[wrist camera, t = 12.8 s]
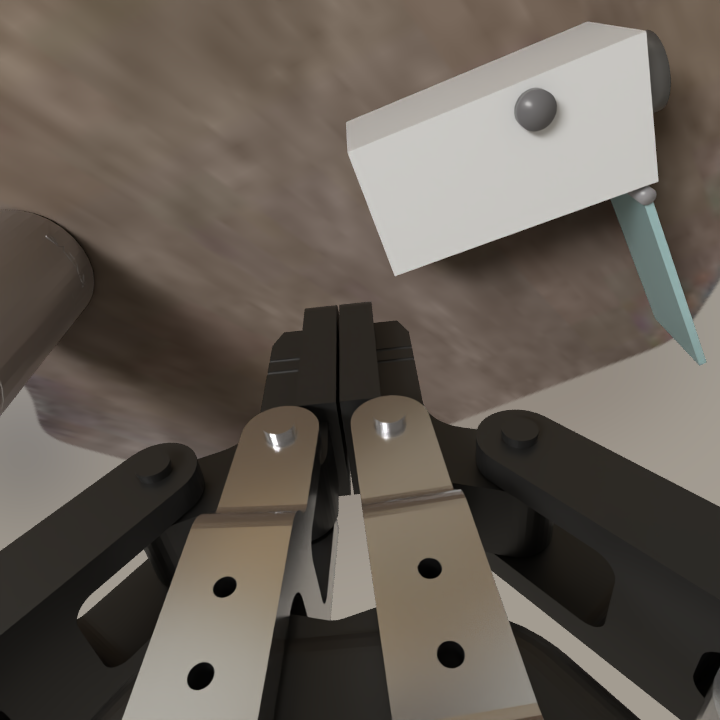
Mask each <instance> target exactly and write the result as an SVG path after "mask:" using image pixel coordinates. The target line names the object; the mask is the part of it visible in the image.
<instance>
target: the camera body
mask: <svg viewBox="0 0 720 720" xmlns="http://www.w3.org/2000/svg"><path fill="white" fill-rule="evenodd" d="M670 87H671V77H670V68H669V63H668V58H667V55H666V52H665V49H664V47H663V45H662V43H661V41H660V39H659V38H658V36H657V35H656V34H655V33H654V32H652V31H650V30H638V29H631V28H625V27H619V26H612V25H606V24H600V23H593V22H585V23H583V24H580V25H578V26H576V27H573V28H571V29H568V30H566V31H564V32H561V33H559V34H556V35H554V36H552V37H549V38H547V39H544V40H542V41H540V42H537V43H535V44H532V45H530V46H528V47H525V48H523V49H520V50H518V51H516V52H513V53H511V54H508V55H506V56H504V57H501V58H499V59H496V60H494V61H492V62H489V63H487V64H484V65H482V66H480V67H477V68H475V69H472V70H470V71H468V72H465V73H463V74H460V75H458V76H456V77H453V78H451V79H448V80H446V81H444V82H441V83H439V84H436V85H434V86H432V87H429V88H427V89H424V90H422V91H420V92H417V93H415V94H412V95H410V96H408V97H405V98H403V99H400V100H398V101H396V102H393V103H391V104H388V105H386V106H384V107H381V108H379V109H376V110H374V111H372V112H369V113H367V114H364V115H362V116H360V117H357V118H355V119H352V120H350V121H348V122H346V131H347V151H348V155H349V157H350V160H351V163H352V165H353V168H354V170H355V173H356V176H357V178H358V181H359V183H360V186H361V189H362V191H363V194H364V197H365V199H366V202H367V204H368V207H369V210H370V212H371V215H372V217H373V220H374V223H375V225H376V228H377V231H378V233H379V236H380V238H381V241H382V244H383V246H384V249H385V251H386V254H387V257H388V259H389V262H390V264H391V267H392V270H393V272H394V275H395V276H397V275H399V274H402V273H405V272H408V271H410V270H413V269H416V268H419V267H422V266H424V265H427V264H430V263H433V262H436V261H438V260H441V259H444V258H447V257H449V256H452V255H455V254H458V253H461V252H463V251H466V250H469V249H472V248H475V247H477V246H480V245H483V244H486V243H488V242H491V241H494V240H497V239H500V238H502V237H505V236H508V235H511V234H514V233H516V232H519V231H522V230H525V229H527V228H530V227H533V226H536V225H539V224H541V223H544V222H547V221H550V220H553V219H555V218H558V217H561V216H564V215H566V214H569V213H572V212H575V211H578V210H580V209H583V208H586V207H589V206H592V205H594V204H597V203H600V202H603V201H605V200H608V199H611V198H614V197H617V196H619V195H622V194H625V193H628V192H631V191H633V190H636V189H639V188H642V187H644V186H647V185H650V184H653V183H656V182H658V169H657V157H656V145H655V132H654V120H653V113H654V112H657V111H660V110H662V109H663V108H664V107H665V106H666V104H667V102H668V99H669V95H670Z"/></svg>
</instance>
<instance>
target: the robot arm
mask: <svg viewBox="0 0 720 720" xmlns="http://www.w3.org/2000/svg"><path fill="white" fill-rule="evenodd" d="M93 289H94V276H93V270H92V267H91V264H90V261H89V259H88V257H87V256H86V254H85V252H84V250H83V249H82V247H81V246H80V245H79V244H78V243H77V241H76V240H75V239H74V238H73V237H72V236H71V235H70V234H69V233H67V232H66V231H65V230H64V229H63V228H62V227H60V226H58V225H57V224H55V223H53V222H52V221H50V220H48V219H46V218H44V217H41V216H39V215H36V214H34V213H29V212H25V211H20V210H2V211H0V416H1V415H2V413H3V412H4V411H5V409H6V408H7V407H8V406H9V404H10V403H11V402H12V400H13V399H14V398H15V397H16V395H17V394H18V393H19V391H20V390H21V389H22V388H23V386H24V385H25V384H26V383H27V381H28V380H29V379H30V378H31V376H32V375H33V374H34V372H35V371H36V370H37V369H38V367H39V366H40V365H41V363H42V362H43V361H44V360H45V358H46V357H47V356H48V355H49V353H50V352H51V351H52V349H53V348H54V347H55V346H56V344H57V343H58V342H59V340H60V339H61V338H62V337H63V335H64V334H65V333H66V332H67V330H68V329H69V328H70V327H71V325H72V324H73V323H74V321H75V320H76V319H77V318H78V316H79V315H80V314H81V312H82V311H83V310H84V308H85V307H86V306H87V305H88V303H89V301H90V299H91V297H92V294H93ZM350 471H351V477H352V483H353V490H354V494H360V495H361V501H362V510H363V517H364V524H365V531H366V537H367V545H368V552H369V559H370V566H371V574H372V581H373V588H374V595H375V601H376V608H373V609H370V610H367V611H365V612H361V613H359V614H356V615H353V616H350V617H347V618H344V619H340V620H334V621H331V608H332V598H333V587H334V576H335V565H336V554H337V543H338V533H339V532H338V522H337V517H338V496H345V495H351V481H350ZM143 549H144V551H145V552H146V554H147V557H148V559H147V560H146V561H145V562H144V563H143V564H142V565H141V566H139V567H138V568H137V569H136V570H135V571H134V572H132V573H131V574H130V575H129V576H128V577H127V578H126V579H125V580H123V581H122V582H121V583H120V584H119V585H118V586H116V587H115V588H114V589H113V590H112V591H111V592H110V593H108V595H106V596H105V597H104V598H103V599H102V600H101V601H99V602H98V603H97V604H96V605H95V606H94V607H93V608H91V609H90V610H89V611H88V612H87V613H86V614H84V615H83V616H82V617H80V618H79V619H77V616H78V612H79V610H80V608H81V606H82V604H83V603H84V602H85V600H86V599H87V598H88V597H89V596H90V595H91V594H92V593H93V592H94V591H96V590H97V589H98V588H99V587H100V586H101V585H103V584H104V583H105V582H106V581H107V580H108V579H110V578H111V577H112V576H113V575H114V574H115V573H117V572H118V571H119V570H120V569H121V568H122V567H124V566H125V565H126V564H127V563H128V562H129V561H130V560H132V559H133V558H134V557H135V556H136V555H138V554H139V553H140V552H141V551H142V550H143ZM492 571H493V572H494V573H495V574H497V575H498V576H499V577H500V578H502V579H503V580H504V581H506V582H507V583H508V584H509V585H510V586H512V587H513V588H514V589H516V590H517V591H518V592H519V593H521V594H522V595H523V596H524V597H526V598H527V599H528V600H530V601H531V602H532V603H533V604H535V605H536V606H537V607H538V608H540V609H541V610H542V611H543V612H545V613H546V614H547V615H548V616H550V617H551V618H552V619H554V620H555V621H556V622H557V623H559V624H560V625H561V626H562V627H564V628H565V629H566V630H567V631H569V632H570V633H571V634H573V635H574V636H575V637H576V638H578V639H579V640H580V641H581V642H583V643H584V644H585V645H586V646H588V647H589V648H590V649H592V650H593V651H594V652H596V653H597V654H598V655H599V656H600V657H602V658H603V659H604V660H605V661H607V662H608V663H609V664H611V665H612V666H613V667H614V668H616V669H617V670H618V671H619V672H621V673H622V674H623V675H625V676H626V677H627V678H628V679H630V680H631V681H632V682H634V683H635V684H636V685H637V686H639V687H640V688H641V689H642V690H644V691H645V692H646V693H647V694H649V695H650V696H651V697H652V698H654V699H655V700H656V701H658V702H659V703H660V704H661V705H662V706H664V707H665V708H666V709H668V710H669V711H670V712H671V713H673V714H674V715H675V716H676V717H678V718H679V719H680V720H720V507H719V506H717V505H715V504H713V503H711V502H709V501H707V500H705V499H704V498H702V497H700V496H698V495H696V494H694V493H692V492H690V491H688V490H686V489H684V488H682V487H680V486H678V485H676V484H675V483H672V482H671V481H669V480H667V479H665V478H663V477H661V476H659V475H657V474H655V473H653V472H651V471H649V470H647V469H645V468H643V467H642V466H640V465H638V464H636V463H634V462H632V461H630V460H628V459H626V458H624V457H622V456H620V455H618V454H616V453H614V452H612V451H611V450H609V449H606V448H605V447H603V446H601V445H599V444H597V443H595V442H593V441H591V440H589V439H587V438H585V437H583V436H581V435H580V434H578V433H575V432H574V431H572V430H570V429H568V428H566V427H564V426H562V425H560V424H558V423H556V422H554V421H552V420H551V419H549V418H546V417H545V416H542V415H540V414H537V413H534V412H530V411H525V410H506V411H501V412H497V413H494V414H492V415H490V416H488V417H487V418H485V419H484V420H483V421H482V422H481V423H480V425H479V426H478V429H470V428H462V427H456V426H452V425H449V424H446V423H443V422H441V421H439V420H437V419H436V418H434V417H433V416H432V415H430V413H429V412H428V411H427V409H426V408H425V407H424V404H423V401H422V396H421V391H420V386H419V381H418V376H417V371H416V366H415V361H414V356H413V351H412V346H411V341H410V336H409V332H408V331H407V330H406V329H405V328H404V327H403V326H402V325H401V324H400V323H399V322H398V321H388V322H378V323H373V313H372V304H371V302H362V303H353V304H343V305H340V306H339V311H338V307H337V305H335V306H325V307H316V308H307V309H305V312H304V321H303V331H294V332H285V333H283V334H282V336H281V337H280V338H279V339H278V340H277V341H276V343H275V344H274V345H273V346H272V352H271V357H270V363H269V368H268V375H267V379H266V385H265V390H264V396H263V401H262V406H261V412H260V414H258V415H256V416H255V417H254V418H252V419H251V420H250V421H249V422H248V423H247V424H246V426H245V427H244V429H243V431H242V434H241V437H240V440H239V443H238V444H237V445H235V446H233V447H231V448H229V449H226V450H224V451H221V452H218V453H215V454H212V455H209V456H206V457H203V458H200V459H197V457H196V455H195V452H194V451H193V450H192V449H191V448H189V447H188V446H185V445H183V444H178V443H163V444H158V445H154V446H151V447H148V448H146V449H143V450H141V451H139V452H138V453H136V454H134V455H133V456H131V457H130V458H129V459H127V460H126V461H124V462H123V463H122V464H120V465H119V466H117V467H116V468H115V469H113V470H112V471H110V472H109V473H108V474H106V475H105V476H104V477H102V478H101V479H99V480H98V481H97V482H95V483H94V484H93V485H91V486H90V487H88V488H87V489H86V490H84V491H83V492H81V493H80V494H79V495H77V496H76V497H74V498H73V499H72V500H70V501H69V502H68V503H66V504H65V505H63V506H62V507H61V508H59V509H58V510H57V511H55V512H54V513H52V514H51V515H50V516H48V517H47V518H45V519H44V520H43V521H41V522H40V523H38V524H37V525H36V526H34V527H33V528H32V529H30V530H29V531H28V532H26V533H25V534H23V535H22V536H21V537H19V538H18V539H16V540H15V541H14V542H12V543H11V544H9V545H8V546H7V547H5V548H4V549H3V550H1V551H0V720H640V719H639V718H638V717H637V716H636V715H635V714H633V713H632V712H631V711H630V710H629V709H627V707H625V706H624V705H623V704H622V703H621V702H620V701H619V700H617V699H616V698H615V697H614V696H613V695H611V693H609V692H608V691H607V690H606V689H605V688H604V687H603V686H601V685H600V684H599V683H598V682H597V681H596V680H595V679H593V678H592V677H591V676H590V675H589V674H588V673H587V672H585V671H584V670H583V669H582V668H581V667H580V666H579V665H577V664H576V663H575V662H574V661H573V660H572V659H571V658H569V657H568V656H567V655H566V654H565V653H563V652H562V651H561V650H560V649H559V648H557V647H556V646H554V645H553V644H551V643H550V642H548V641H547V640H546V639H544V638H543V637H541V636H539V635H537V634H536V633H534V632H532V631H530V630H528V629H527V628H525V627H523V626H520V625H517V624H515V623H513V622H510V621H509V620H508V617H507V615H506V612H505V609H504V606H503V603H502V600H501V597H500V594H499V592H498V589H497V586H496V583H495V580H494V577H493V574H492Z"/></svg>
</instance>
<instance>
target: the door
mask: <svg viewBox="0 0 720 720" xmlns="http://www.w3.org/2000/svg"><path fill="white" fill-rule="evenodd" d="M655 198H656V191H655V190H654V189H653V188H651V187H650V186H648V185H647V186H644V187H642V188H639V189H636V190H633V191H631V192H628V193H625V194H622V195H619V196H617V197H614V198H611V202H612V205H613V207H614V210H615V213H616V215H617V218H618V221H619V223H620V226H621V229H622V231H623V234H624V237H625V239H626V242H627V245H628V247H629V250H630V253H631V255H632V258H633V261H634V263H635V266H636V269H637V271H638V274H639V277H640V279H641V282H642V285H643V287H644V290H645V293H646V295H647V298H648V301H649V303H650V306H651V309H652V311H653V314H654V317H655V319H656V320H657V321H658V322H659V323H660V324H661V325H662V326H663V327H664V328H665V329H666V331H667V332H668V333H669V334H670V335H671V336H672V337H673V338H674V339H675V340H676V341H677V342H678V343H679V344H680V345H681V346H682V347H683V349H684V350H685V351H686V352H687V353H688V354H689V355H690V356H691V357H692V358H693V359H694V360H695V361H696V362H697V363H698V364H699V365H702V364H704V363H706V359H705V356H704V353H703V350H702V348H701V344H700V341H699V338H698V335H697V332H696V329H695V326H694V323H693V320H692V317H691V314H690V311H689V308H688V305H687V302H686V299H685V296H684V293H683V290H682V287H681V284H680V281H679V278H678V275H677V272H676V269H675V266H674V263H673V260H672V257H671V254H670V251H669V248H668V245H667V242H666V239H665V236H664V233H663V230H662V227H661V224H660V221H659V218H658V215H657V212H656V209H655V206H654V203H653V201H654V200H655Z"/></svg>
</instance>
